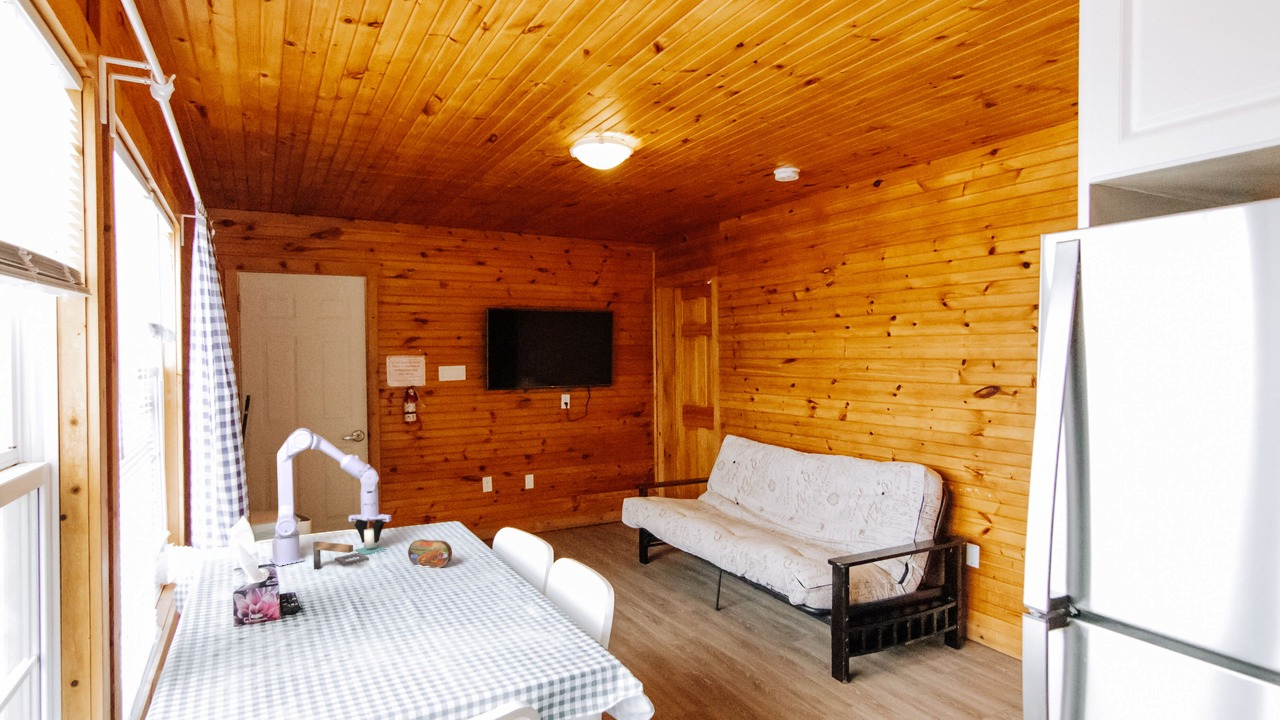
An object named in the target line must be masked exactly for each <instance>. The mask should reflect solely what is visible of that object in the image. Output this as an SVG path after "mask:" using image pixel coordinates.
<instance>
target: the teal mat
mask: <svg viewBox="0 0 1280 720" xmlns="http://www.w3.org/2000/svg"><path fill="white" fill-rule="evenodd" d="M382 550H387V551H388V549H387V548H385V547H383V546H381V545H378V544H377V547H374V548H364V547H360V548H357V549H353V552H355V551H356V552H355V553H357V552H359V553H361V554H363V555H366V556H368V555H367V554H370V555H372V554H371V553H374V554H376V553H375V552H378V553H380V552H379V551H382Z"/></svg>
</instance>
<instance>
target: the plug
mask: <svg viewBox="0 0 1280 720" xmlns="http://www.w3.org/2000/svg"><path fill="white" fill-rule="evenodd" d="M363 544H364V545H363V546H364V547H363V548H374V547H377V545H378V542H377V543H375V542H374V530H373V527H367V529H365V530H364V543H363Z"/></svg>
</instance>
